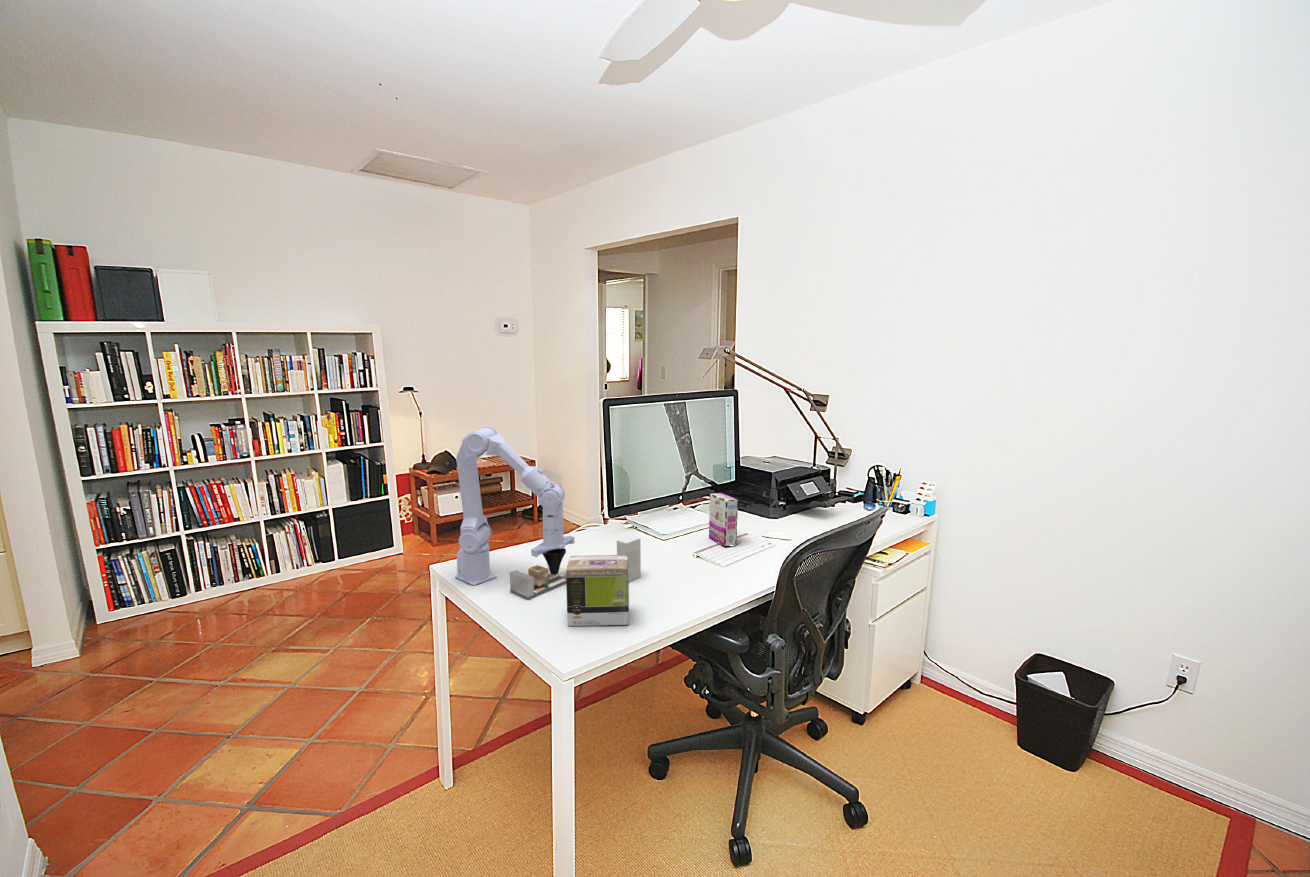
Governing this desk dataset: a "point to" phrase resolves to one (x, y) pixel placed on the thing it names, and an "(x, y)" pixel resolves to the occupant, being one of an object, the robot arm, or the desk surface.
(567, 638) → the desk surface
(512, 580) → the gauge bed
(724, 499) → the candy bar box
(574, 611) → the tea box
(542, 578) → the gauge slider
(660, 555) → the desk surface
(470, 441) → the robot arm
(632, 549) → the skincare box
